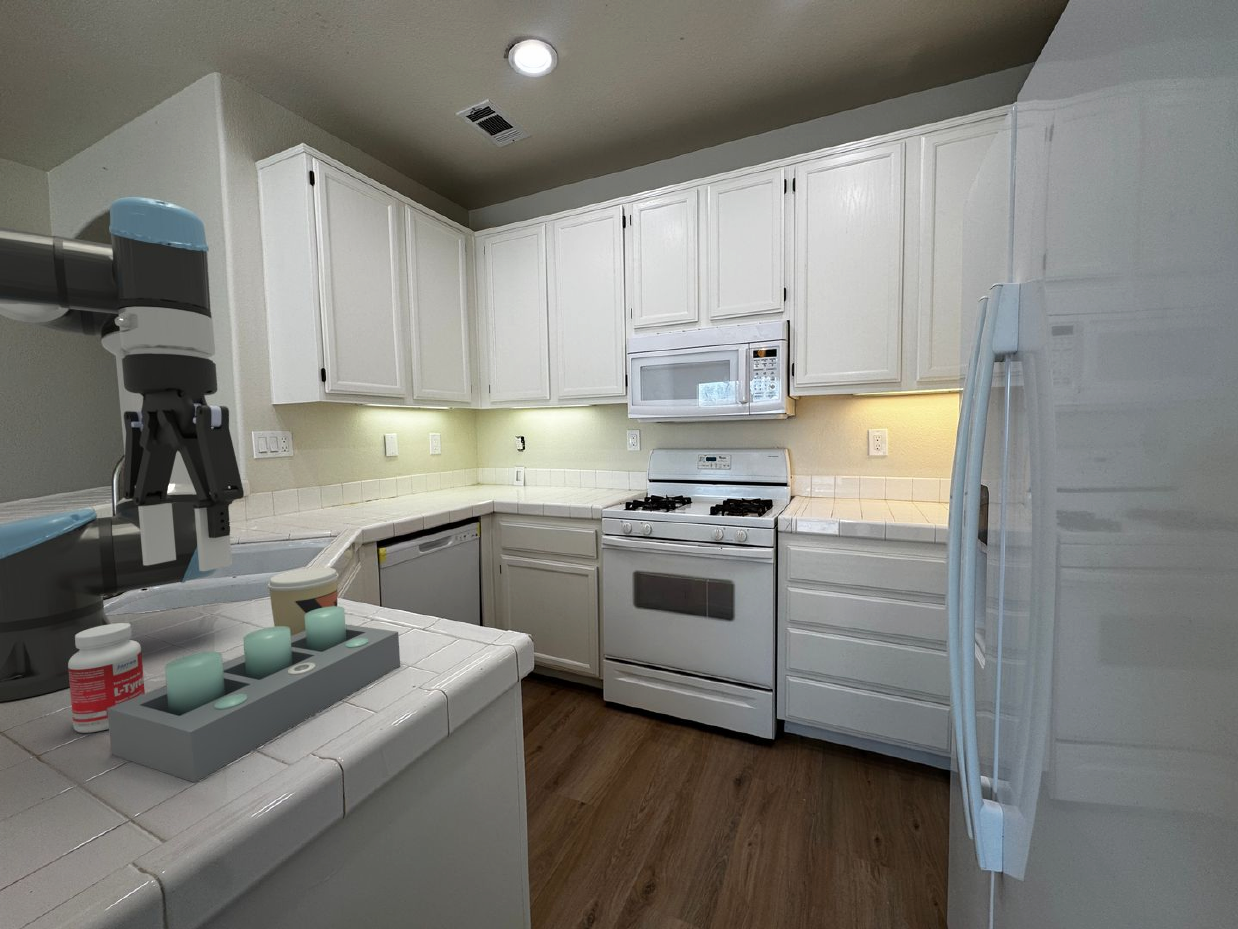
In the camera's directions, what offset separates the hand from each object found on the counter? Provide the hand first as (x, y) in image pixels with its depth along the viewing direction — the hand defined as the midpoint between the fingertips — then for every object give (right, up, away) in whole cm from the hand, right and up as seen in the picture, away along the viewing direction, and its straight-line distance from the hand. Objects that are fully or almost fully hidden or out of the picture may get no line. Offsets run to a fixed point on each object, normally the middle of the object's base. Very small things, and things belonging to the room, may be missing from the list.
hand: (187, 564), depth 55 cm
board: (+4, -19, +8) cm, 21 cm away
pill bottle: (-14, -20, +6) cm, 25 cm away
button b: (+3, -15, +8) cm, 18 cm away
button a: (0, -16, +1) cm, 16 cm away
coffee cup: (-2, -18, +24) cm, 31 cm away
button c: (+6, -15, +16) cm, 22 cm away
